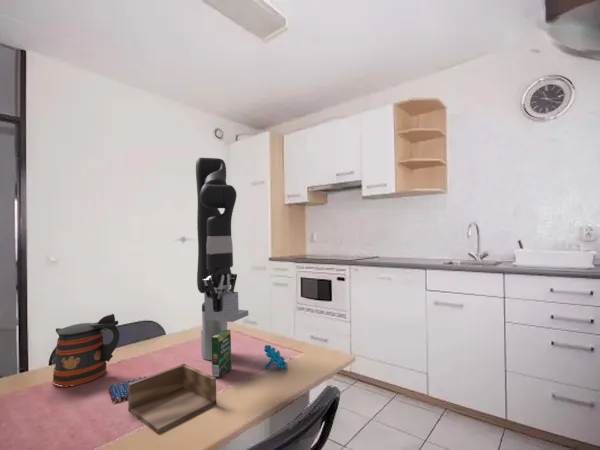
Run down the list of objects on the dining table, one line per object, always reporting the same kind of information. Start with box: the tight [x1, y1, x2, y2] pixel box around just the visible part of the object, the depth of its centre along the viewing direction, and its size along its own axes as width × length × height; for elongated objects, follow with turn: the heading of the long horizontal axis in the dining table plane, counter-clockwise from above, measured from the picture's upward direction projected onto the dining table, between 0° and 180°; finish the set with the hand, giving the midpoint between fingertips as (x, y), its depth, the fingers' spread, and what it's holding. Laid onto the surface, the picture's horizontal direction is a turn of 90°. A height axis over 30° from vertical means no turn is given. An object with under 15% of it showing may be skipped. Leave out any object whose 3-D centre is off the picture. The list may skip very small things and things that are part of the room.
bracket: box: [203, 291, 249, 323], centre depth 96 cm, size 10×8×8 cm
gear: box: [263, 344, 287, 370], centre depth 108 cm, size 11×6×10 cm
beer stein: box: [52, 313, 120, 386], centre depth 106 cm, size 19×15×20 cm
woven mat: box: [108, 376, 147, 404], centre depth 94 cm, size 10×11×2 cm
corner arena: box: [127, 363, 217, 434], centre depth 85 cm, size 16×16×7 cm
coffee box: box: [211, 329, 233, 379], centre depth 105 cm, size 8×3×13 cm, turn 162°
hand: (221, 310), depth 94 cm, fingers closed on bracket, 3 cm apart
